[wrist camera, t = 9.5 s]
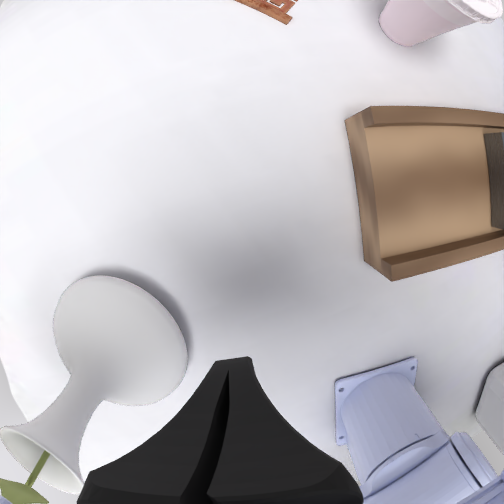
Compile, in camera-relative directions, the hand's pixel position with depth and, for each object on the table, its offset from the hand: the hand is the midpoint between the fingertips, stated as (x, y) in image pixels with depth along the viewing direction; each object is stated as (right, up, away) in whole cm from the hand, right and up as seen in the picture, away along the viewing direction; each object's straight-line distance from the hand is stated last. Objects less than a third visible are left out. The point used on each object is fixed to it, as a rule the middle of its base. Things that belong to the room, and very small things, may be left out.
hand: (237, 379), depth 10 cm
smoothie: (+12, +23, +6) cm, 26 cm away
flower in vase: (-11, -2, +11) cm, 16 cm away
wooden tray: (+18, +11, +8) cm, 22 cm away
